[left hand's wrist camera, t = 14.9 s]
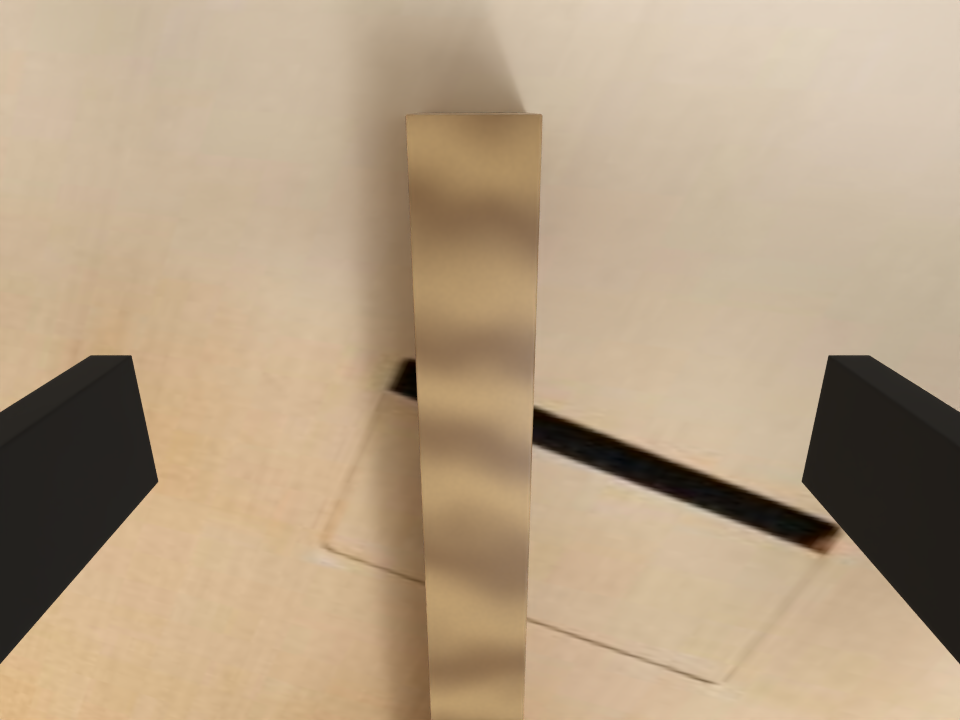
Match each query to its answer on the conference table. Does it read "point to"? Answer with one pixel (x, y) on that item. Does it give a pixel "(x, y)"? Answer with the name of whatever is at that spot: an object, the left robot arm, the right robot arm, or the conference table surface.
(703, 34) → the conference table surface
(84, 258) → the conference table surface
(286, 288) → the conference table surface
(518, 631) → the post
